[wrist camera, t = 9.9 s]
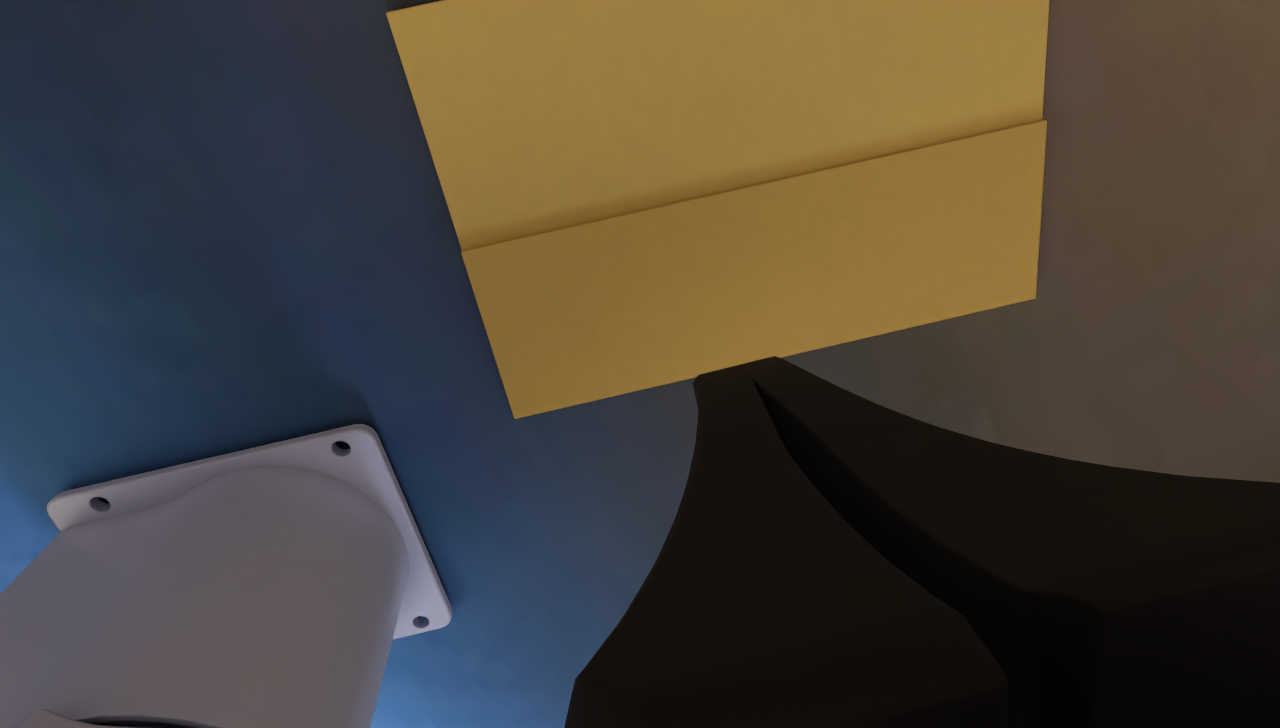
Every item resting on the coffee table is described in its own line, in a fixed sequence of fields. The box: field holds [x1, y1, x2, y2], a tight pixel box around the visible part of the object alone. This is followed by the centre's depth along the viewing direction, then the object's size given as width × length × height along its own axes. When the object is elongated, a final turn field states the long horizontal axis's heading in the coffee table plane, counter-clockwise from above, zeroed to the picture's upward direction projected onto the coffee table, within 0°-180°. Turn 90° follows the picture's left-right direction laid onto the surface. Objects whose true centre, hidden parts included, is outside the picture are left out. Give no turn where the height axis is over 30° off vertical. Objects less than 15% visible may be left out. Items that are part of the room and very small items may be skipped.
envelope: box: [386, 0, 1049, 419], centre depth 19 cm, size 16×11×1 cm
